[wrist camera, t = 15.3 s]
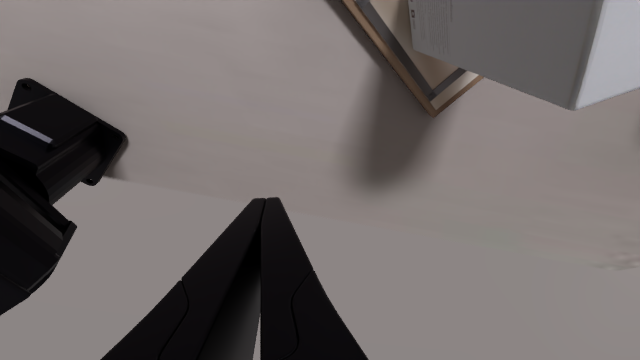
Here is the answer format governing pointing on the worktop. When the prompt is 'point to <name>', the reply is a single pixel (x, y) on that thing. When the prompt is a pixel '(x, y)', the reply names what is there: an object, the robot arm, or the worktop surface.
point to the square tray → (410, 54)
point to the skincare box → (537, 44)
